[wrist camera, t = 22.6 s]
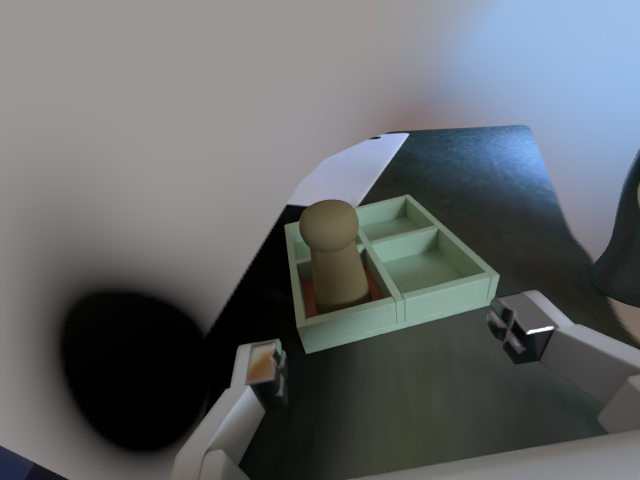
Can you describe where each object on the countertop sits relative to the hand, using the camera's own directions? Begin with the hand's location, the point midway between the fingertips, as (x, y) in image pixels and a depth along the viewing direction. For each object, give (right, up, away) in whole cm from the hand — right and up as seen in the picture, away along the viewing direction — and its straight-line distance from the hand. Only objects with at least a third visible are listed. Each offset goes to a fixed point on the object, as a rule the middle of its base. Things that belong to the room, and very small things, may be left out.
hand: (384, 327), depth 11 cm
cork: (0, -3, +19) cm, 19 cm away
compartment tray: (+4, 0, +23) cm, 23 cm away
